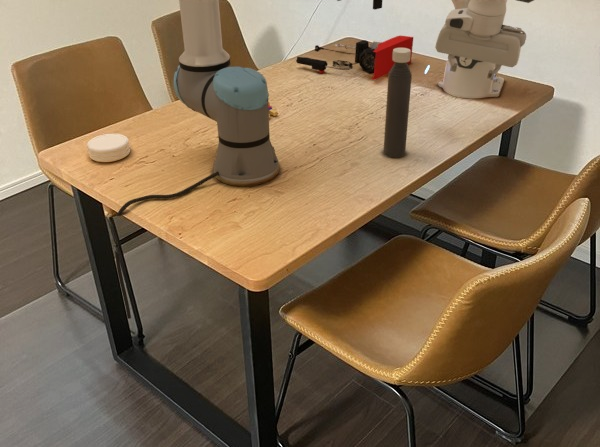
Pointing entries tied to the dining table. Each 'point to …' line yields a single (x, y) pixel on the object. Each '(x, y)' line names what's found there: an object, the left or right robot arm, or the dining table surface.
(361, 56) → the electric hoist
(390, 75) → the bottle
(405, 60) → the cap
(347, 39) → the dining table surface
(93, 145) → the white round disc
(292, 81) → the dining table surface
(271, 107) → the toy figure
